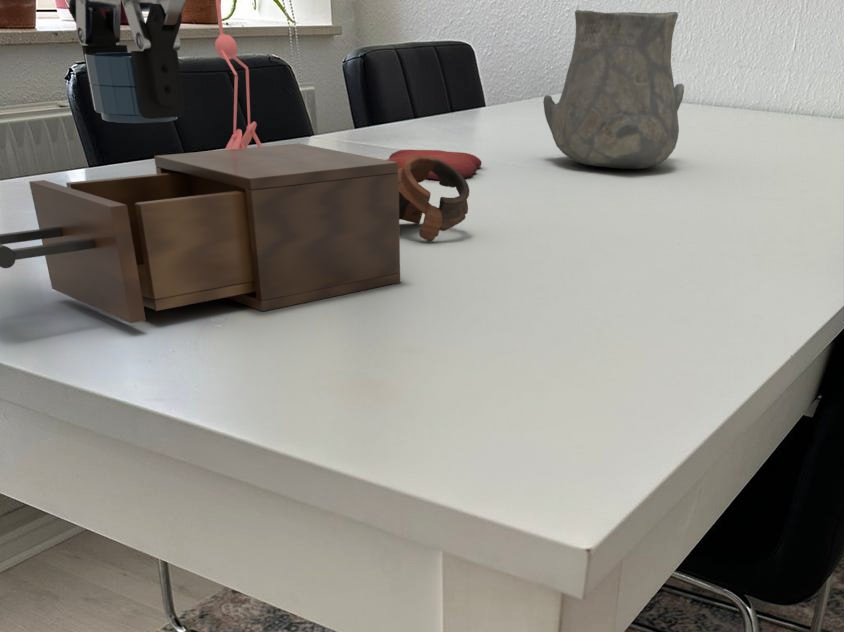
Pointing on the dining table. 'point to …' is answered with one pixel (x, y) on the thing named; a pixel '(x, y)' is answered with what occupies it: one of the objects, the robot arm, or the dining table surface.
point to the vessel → (618, 92)
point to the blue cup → (115, 87)
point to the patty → (457, 160)
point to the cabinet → (308, 218)
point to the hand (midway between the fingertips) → (138, 110)
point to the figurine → (235, 87)
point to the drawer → (140, 241)
